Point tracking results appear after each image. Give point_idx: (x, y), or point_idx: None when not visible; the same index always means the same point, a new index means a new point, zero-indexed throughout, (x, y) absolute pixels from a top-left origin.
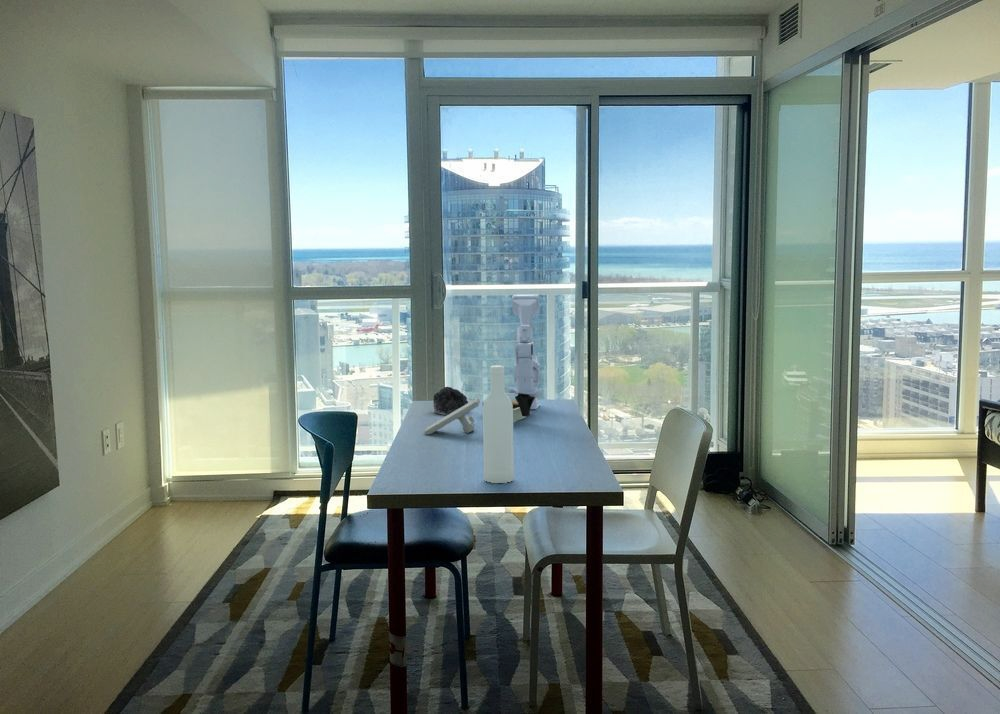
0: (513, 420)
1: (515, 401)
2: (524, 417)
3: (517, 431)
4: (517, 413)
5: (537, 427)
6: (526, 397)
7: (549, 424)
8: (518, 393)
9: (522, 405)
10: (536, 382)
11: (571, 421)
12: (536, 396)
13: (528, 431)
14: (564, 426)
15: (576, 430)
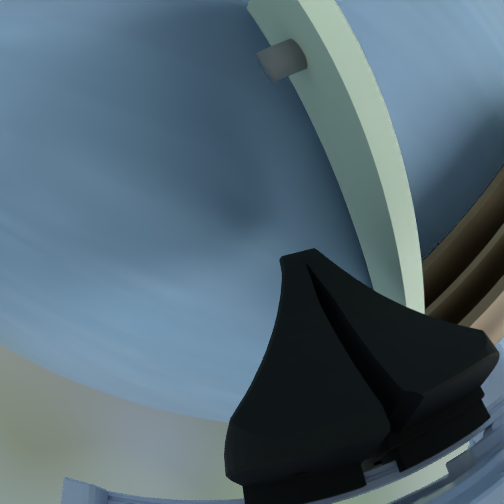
0: (329, 154)
1: (495, 327)
2: (373, 286)
3: (31, 58)
4: (376, 238)
5: (82, 237)
6: (228, 476)
7: (144, 330)
8: (485, 421)
9: (317, 322)
10: (475, 440)
11: (174, 404)
12: (76, 496)
13: (4, 133)
14: (80, 352)
15: (11, 341)
